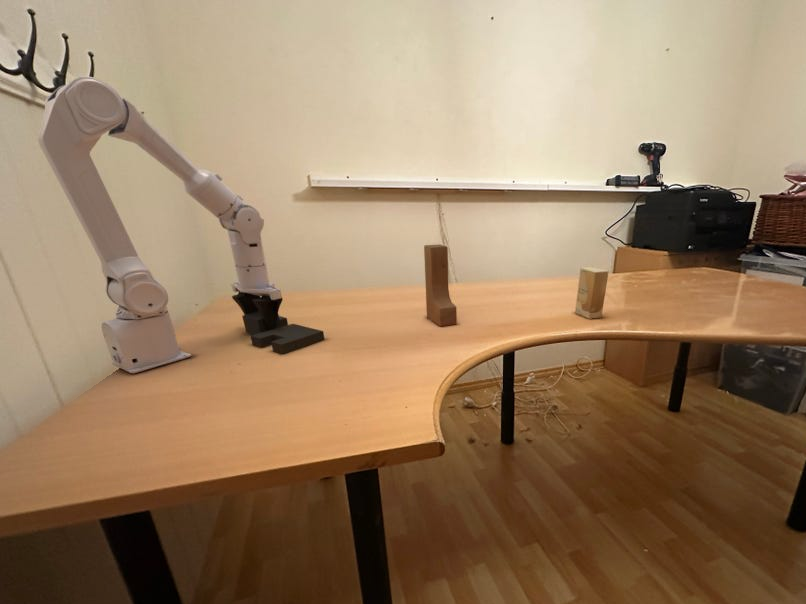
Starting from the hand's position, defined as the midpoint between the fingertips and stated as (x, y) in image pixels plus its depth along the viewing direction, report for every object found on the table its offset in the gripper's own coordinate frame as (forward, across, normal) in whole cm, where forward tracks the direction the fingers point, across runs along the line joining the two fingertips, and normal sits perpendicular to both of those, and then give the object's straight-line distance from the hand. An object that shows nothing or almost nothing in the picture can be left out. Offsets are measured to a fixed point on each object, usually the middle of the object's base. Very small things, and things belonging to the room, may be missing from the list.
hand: (263, 326), depth 89 cm
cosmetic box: (+2, -58, -54) cm, 79 cm away
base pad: (+1, -10, +1) cm, 10 cm away
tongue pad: (+1, 0, -1) cm, 2 cm away
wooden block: (+2, -28, -29) cm, 40 cm away
